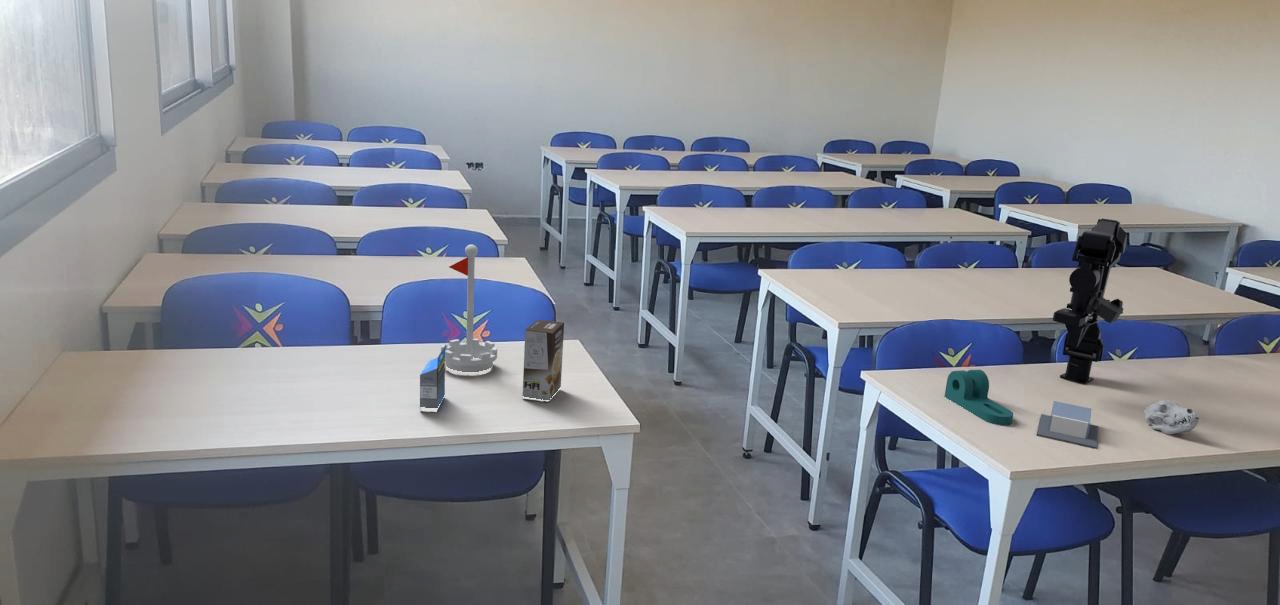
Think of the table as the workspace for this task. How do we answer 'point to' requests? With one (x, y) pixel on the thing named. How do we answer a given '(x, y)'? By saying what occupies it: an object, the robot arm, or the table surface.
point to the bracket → (976, 396)
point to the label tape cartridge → (433, 382)
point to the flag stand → (469, 328)
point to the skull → (1170, 417)
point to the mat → (1046, 433)
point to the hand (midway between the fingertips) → (1074, 346)
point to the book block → (1070, 419)
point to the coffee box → (543, 359)
